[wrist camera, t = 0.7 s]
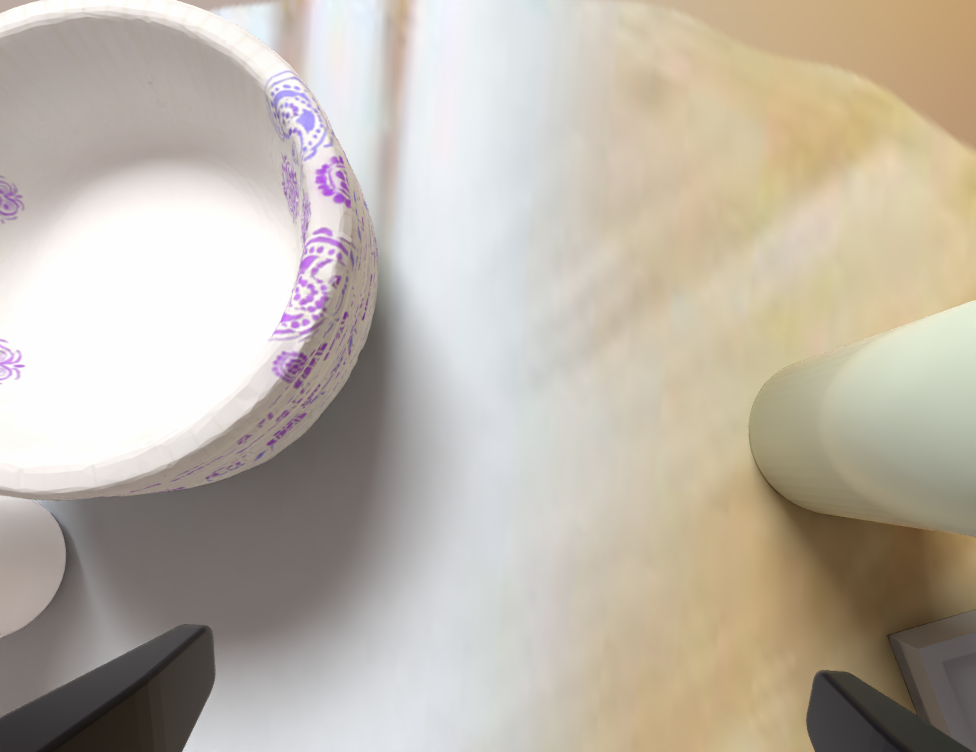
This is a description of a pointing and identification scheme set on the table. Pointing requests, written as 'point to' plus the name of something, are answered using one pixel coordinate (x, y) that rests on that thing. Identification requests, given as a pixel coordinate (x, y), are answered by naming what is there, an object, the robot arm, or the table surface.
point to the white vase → (27, 561)
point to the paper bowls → (166, 251)
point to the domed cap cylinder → (878, 427)
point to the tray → (942, 673)
